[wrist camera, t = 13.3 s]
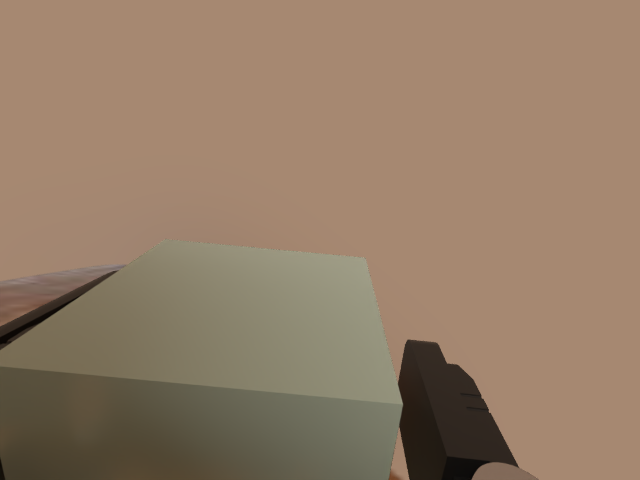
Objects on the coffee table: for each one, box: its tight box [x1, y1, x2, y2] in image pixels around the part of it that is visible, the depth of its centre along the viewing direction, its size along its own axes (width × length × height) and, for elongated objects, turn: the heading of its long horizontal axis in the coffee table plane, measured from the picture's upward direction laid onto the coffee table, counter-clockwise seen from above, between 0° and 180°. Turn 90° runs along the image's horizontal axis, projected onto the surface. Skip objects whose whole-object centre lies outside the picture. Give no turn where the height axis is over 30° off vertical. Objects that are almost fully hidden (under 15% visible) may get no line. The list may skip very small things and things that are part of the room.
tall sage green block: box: [0, 239, 403, 480], centre depth 9 cm, size 6×6×10 cm
